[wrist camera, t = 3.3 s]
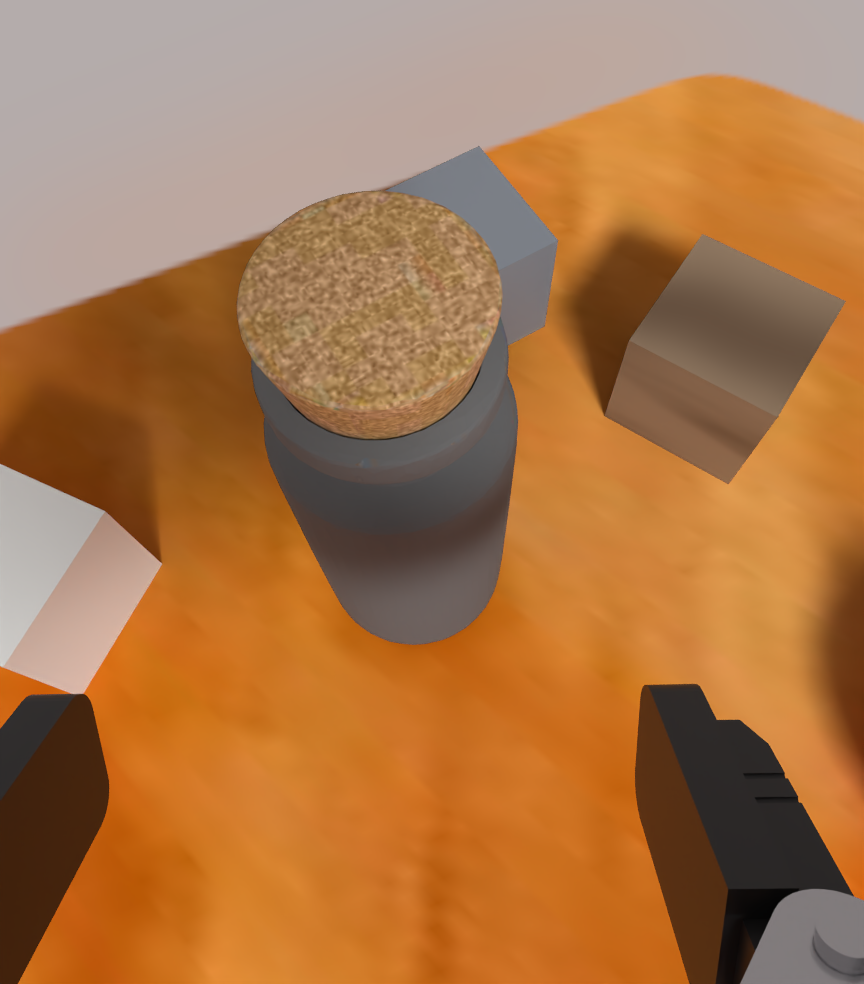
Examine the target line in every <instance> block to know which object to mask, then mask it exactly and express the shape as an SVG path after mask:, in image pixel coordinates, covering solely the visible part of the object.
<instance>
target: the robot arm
mask: <svg viewBox="0 0 864 984" xmlns="http://www.w3.org/2000/svg"><path fill="white" fill-rule="evenodd" d="M635 787H636V798H637V805H638V811H639V815H640V819H641V823H642V826H643V829H644V833H645V836H646V839H647V843H648V846H649V850H650V853H651V856H652V860H653V863H654V866H655V870H656V873H657V876H658V880H659V883H660V886H661V890H662V893H663V896H664V900H665V903H666V906H667V910H668V913H669V917H670V920H671V923H672V927H673V930H674V933H675V937H676V940H677V943H678V947H679V950H680V953H681V957H682V960H683V963H684V967H685V970H686V973H687V977H688V980H689V983H690V984H864V901H863V900H861V899H859V898H856V897H854V895H853V894H852V892H851V890H850V889H849V887H848V885H847V883H846V881H845V880H844V878H843V876H842V874H841V872H840V871H839V869H838V867H837V865H836V864H835V862H834V860H833V858H832V856H831V855H830V853H829V851H828V849H827V848H826V846H825V844H824V842H823V840H822V839H821V837H820V835H819V833H818V831H817V830H816V828H815V826H814V824H813V823H812V821H811V819H810V817H809V815H808V814H807V812H806V810H805V808H804V807H803V805H802V803H799V802H798V796H797V794H796V792H795V790H794V789H793V787H792V785H791V783H790V782H789V780H788V779H785V773H784V771H783V769H782V767H781V765H780V764H779V762H778V760H777V758H776V757H775V755H774V753H773V751H772V749H771V748H770V746H769V744H768V743H767V742H765V741H764V740H763V739H762V738H761V737H759V736H758V735H757V734H756V733H755V732H754V731H752V730H751V729H750V728H749V727H748V726H746V725H745V724H744V723H743V722H742V721H740V720H716V718H715V716H714V714H713V712H712V710H711V708H710V705H709V703H708V701H707V699H706V697H705V695H704V693H703V691H702V689H701V688H700V686H699V685H697V684H673V685H644V686H643V688H642V692H641V699H640V712H639V726H638V739H637V753H636V767H635ZM108 799H109V779H108V774H107V770H106V765H105V761H104V756H103V752H102V747H101V743H100V738H99V734H98V729H97V725H96V721H95V716H94V712H93V708H92V704H91V702H90V700H89V698H88V697H87V696H86V695H84V694H47V695H30V696H28V697H26V698H25V699H24V700H23V701H22V702H21V704H20V705H19V706H18V707H17V709H16V710H15V711H14V712H13V714H12V715H11V716H10V717H9V719H8V720H7V721H6V722H5V724H4V725H3V726H2V727H1V729H0V984H18V982H19V980H20V978H21V977H22V975H23V973H24V971H25V969H26V967H27V965H28V963H29V961H30V960H31V958H32V956H33V954H34V952H35V950H36V948H37V946H38V944H39V942H40V941H41V939H42V937H43V935H44V933H45V931H46V929H47V927H48V925H49V923H50V922H51V920H52V918H53V916H54V914H55V912H56V910H57V908H58V906H59V904H60V903H61V901H62V899H63V897H64V895H65V893H66V891H67V889H68V887H69V886H70V884H71V882H72V880H73V878H74V876H75V874H76V872H77V870H78V868H79V867H80V865H81V863H82V861H83V859H84V857H85V855H86V853H87V851H88V849H89V848H90V846H91V844H92V842H93V840H94V838H95V836H96V834H97V832H98V830H99V829H100V827H101V825H102V822H103V820H104V817H105V814H106V810H107V805H108Z"/></svg>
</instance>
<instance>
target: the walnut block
mask: <svg viewBox="0 0 864 984" xmlns="http://www.w3.org/2000/svg"><path fill="white" fill-rule="evenodd" d="M845 302H846V301H844V300H842V299H840V298H838V297H836V296H833V295H831V294H829V293H827V292H825V291H823V290H821V289H818V288H816V287H814V286H812V285H810V284H808V283H806V282H804V281H801V280H799V279H797V278H795V277H793V276H791V275H789V274H787V273H784V272H782V271H780V270H778V269H776V268H774V267H772V266H769V265H767V264H765V263H763V262H761V261H759V260H757V259H755V258H752V257H750V256H748V255H746V254H744V253H742V252H740V251H737V250H735V249H733V248H731V247H729V246H727V245H725V244H723V243H720V242H718V241H716V240H714V239H712V238H710V237H708V236H705V235H703V234H702V236H701V237H700V239H699V240H698V242H697V243H696V244H695V246H694V247H693V249H692V250H691V252H690V253H689V255H688V256H687V257H686V259H685V260H684V262H683V263H682V265H681V266H680V268H679V269H678V270H677V272H676V273H675V275H674V276H673V278H672V279H671V281H670V282H669V283H668V285H667V286H666V288H665V289H664V291H663V292H662V294H661V295H660V296H659V298H658V299H657V301H656V302H655V304H654V305H653V307H652V308H651V309H650V311H649V312H648V314H647V315H646V317H645V318H644V320H643V321H642V322H641V324H640V325H639V327H638V328H637V330H636V331H635V333H634V334H633V335H632V337H631V338H630V340H629V342H628V345H627V348H626V351H625V354H624V358H623V361H622V364H621V367H620V370H619V373H618V376H617V379H616V382H615V385H614V388H613V391H612V394H611V397H610V401H609V404H608V407H607V410H606V413H605V417H607V418H609V419H611V420H613V421H614V422H616V423H618V424H620V425H622V426H624V427H625V428H627V429H629V430H631V431H633V432H634V433H636V434H638V435H640V436H642V437H644V438H645V439H647V440H649V441H651V442H653V443H654V444H656V445H658V446H660V447H662V448H663V449H665V450H667V451H669V452H671V453H673V454H674V455H676V456H678V457H680V458H682V459H683V460H685V461H687V462H689V463H691V464H693V465H694V466H696V467H698V468H700V469H702V470H703V471H705V472H707V473H709V474H711V475H713V476H714V477H716V478H718V479H720V480H722V481H723V482H725V483H727V484H729V483H730V481H731V480H732V479H733V477H734V476H735V475H736V473H737V472H738V471H739V469H740V468H741V466H742V465H743V464H744V462H745V461H746V460H747V458H748V457H749V456H750V454H751V453H752V451H753V450H754V449H755V447H756V446H757V445H758V443H759V442H760V440H761V439H762V438H763V436H764V435H765V434H766V432H767V431H768V430H769V428H770V427H771V425H772V424H773V423H774V421H775V420H776V419H777V417H778V416H779V414H780V412H781V410H782V409H783V407H784V405H785V404H786V402H787V400H788V399H789V397H790V395H791V393H792V392H793V390H794V388H795V387H796V385H797V383H798V382H799V380H800V378H801V376H802V375H803V373H804V371H805V370H806V368H807V366H808V365H809V363H810V361H811V359H812V358H813V356H814V354H815V353H816V351H817V349H818V348H819V346H820V344H821V342H822V341H823V339H824V337H825V336H826V334H827V332H828V331H829V329H830V327H831V325H832V324H833V322H834V320H835V319H836V317H837V315H838V314H839V312H840V310H841V308H842V307H843V305H844V303H845Z"/></svg>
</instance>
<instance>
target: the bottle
mask: <svg viewBox="0 0 864 984" xmlns="http://www.w3.org/2000/svg"><path fill="white" fill-rule="evenodd" d="M502 297H503V293H502V282H501V277H500V273H499V269H498V266H497V263H496V260H495V258H494V256H493V254H492V252H491V250H490V249H489V247H488V245H487V244H486V242H485V241H484V239H483V238H482V237H481V236H480V235H479V234H478V233H477V232H476V230H475V229H474V228H473V227H472V226H471V225H470V224H469V223H467V222H466V221H465V220H464V219H463V218H462V217H460V216H459V215H457V214H456V213H454V212H452V211H451V210H449V209H448V208H446V207H444V206H442V205H440V204H437V203H435V202H432V201H430V200H427V199H425V198H422V197H418V196H414V195H409V194H405V193H399V192H389V191H363V192H356V193H349V194H342V195H339V196H336V197H332V198H329V199H326V200H323V201H320V202H317V203H315V204H312V205H310V206H308V207H306V208H304V209H302V210H300V211H298V212H297V213H295V214H294V215H292V216H290V217H289V218H287V219H286V220H284V221H283V222H282V223H281V224H279V225H278V226H277V227H276V228H274V229H273V230H272V231H271V233H270V234H269V235H268V236H267V237H266V238H265V239H264V240H263V241H262V243H261V244H260V245H259V246H258V248H257V249H256V250H255V252H254V253H253V255H252V257H251V258H250V260H249V262H248V263H247V265H246V268H245V271H244V274H243V276H242V279H241V282H240V286H239V292H238V298H237V318H238V324H239V330H240V333H241V337H242V340H243V342H244V344H245V346H246V348H247V351H248V352H249V354H250V355H251V357H252V361H251V372H252V378H253V384H254V389H255V393H256V396H257V398H258V401H259V404H260V406H261V409H262V411H263V413H264V415H265V418H264V436H265V445H266V450H267V454H268V459H269V462H270V465H271V467H272V469H273V471H274V474H275V476H276V478H277V480H278V483H279V485H280V487H281V489H282V491H283V493H284V495H285V497H286V499H287V501H288V503H289V505H290V507H291V509H292V511H293V513H294V515H295V517H296V519H297V521H298V523H299V525H300V527H301V529H302V531H303V533H304V535H305V537H306V539H307V541H308V543H309V545H310V547H311V549H312V551H313V553H314V555H315V557H316V559H317V561H318V562H319V564H320V566H321V568H322V570H323V572H324V574H325V576H326V578H327V580H328V581H329V583H330V585H331V587H332V589H333V591H334V592H335V594H336V596H337V598H338V600H339V601H340V603H341V605H342V606H343V608H344V609H345V610H346V612H347V613H348V614H349V615H350V617H351V618H352V619H353V620H354V621H355V622H356V623H358V624H359V625H360V626H361V627H363V628H364V629H365V630H367V631H368V632H370V633H371V634H373V635H376V636H378V637H380V638H382V639H385V640H388V641H391V642H396V643H403V644H412V645H415V644H426V643H431V642H435V641H440V640H443V639H446V638H448V637H450V636H452V635H454V634H456V633H458V632H459V631H461V630H463V629H464V628H466V627H467V626H468V625H469V624H470V623H471V622H473V621H474V620H475V619H476V618H477V617H478V615H479V614H480V613H481V612H482V611H483V609H484V608H485V607H486V605H487V604H488V602H489V600H490V598H491V596H492V594H493V592H494V589H495V586H496V583H497V580H498V575H499V570H500V565H501V560H502V553H503V546H504V538H505V531H506V524H507V517H508V509H509V502H510V494H511V486H512V478H513V470H514V462H515V454H516V445H517V429H518V415H517V406H516V400H515V395H514V391H513V388H512V385H511V383H510V380H509V378H508V375H507V374H508V358H509V357H508V343H507V337H506V333H505V330H504V326H503V323H502V319H501V317H500V314H501V308H502Z"/></svg>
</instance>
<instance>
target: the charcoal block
mask: <svg viewBox="0 0 864 984" xmlns="http://www.w3.org/2000/svg"><path fill="white" fill-rule="evenodd" d="M385 191H389V192H399V193H405V194H409V195H414V196H418V197H422V198H425V199H427V200H430V201H432V202H435V203H437V204H440V205H442V206H444V207H446V208H448V209H449V210H451V211H452V212H454V213H456V214H457V215H459V216H460V217H462V218H463V219H464V220H465V221H466V222H467V223H469V224H470V225H471V226H472V227H473V228H474V229H475V230H476V232H477V233H478V234H479V235H480V236H481V237H482V238H483V239H484V241H485V242H486V244H487V245H488V247H489V249H490V250H491V252H492V254H493V256H494V258H495V260H496V263H497V266H498V269H499V273H500V277H501V282H502V293H503V297H502V308H501V314H500V317H501V319H502V323H503V326H504V330H505V333H506V337H507V343H508V345H510V344H512V343H514V342H516V341H518V340H519V339H521V338H523V337H525V336H527V335H529V334H531V333H533V332H535V331H536V330H538V329H540V328H542V327H544V326H545V320H546V314H547V307H548V301H549V294H550V288H551V282H552V275H553V269H554V262H555V256H556V250H557V243H558V240H557V239H556V238H555V236H554V235H553V234H552V233H551V232H550V230H549V229H548V228H547V227H546V226H545V224H544V223H543V222H542V221H541V220H540V218H539V217H538V216H537V215H536V214H535V212H534V211H533V210H532V209H531V208H530V206H529V205H528V204H527V203H526V202H525V200H524V199H523V198H522V197H521V196H520V194H519V193H518V192H517V191H516V190H515V188H514V187H513V186H512V185H511V184H510V182H509V181H508V180H507V179H506V178H505V177H504V175H503V174H502V173H501V172H500V171H499V169H498V168H497V167H496V166H495V165H494V163H493V162H492V161H491V160H490V159H489V157H488V156H487V155H486V154H485V153H484V151H483V150H482V149H481V148H480V147H479V146H478V147H476V148H474V149H472V150H470V151H468V152H465V153H463V154H461V155H459V156H457V157H455V158H453V159H451V160H449V161H446V162H444V163H442V164H440V165H438V166H436V167H434V168H432V169H430V170H428V171H425V172H423V173H421V174H419V175H417V176H415V177H413V178H411V179H409V180H406V181H404V182H402V183H400V184H398V185H396V186H394V187H392V188H390V189H388V190H385Z"/></svg>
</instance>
